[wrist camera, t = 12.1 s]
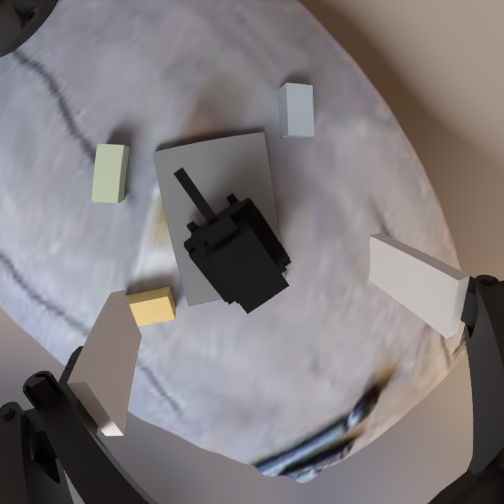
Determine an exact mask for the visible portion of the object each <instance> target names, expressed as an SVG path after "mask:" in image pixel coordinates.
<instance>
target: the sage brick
mask: <svg viewBox="0 0 504 504" xmlns="http://www.w3.org/2000/svg"><path fill="white" fill-rule="evenodd" d="M129 150H130V147H129V146H126V145H112V144H97V151H96V159H95V168H94V178H93V190H92V202H107V203H119V202H121V201H123V200H124V193H125V183H126V173H127V165H128V157H129Z"/></svg>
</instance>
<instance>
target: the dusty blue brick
mask: <svg viewBox="0 0 504 504" xmlns="http://www.w3.org/2000/svg"><path fill="white" fill-rule="evenodd" d="M279 106H280V138H304V139H305V138H310V137H314V108H313V88H312V85H305V84H295V83H285V84H284V85H283V86H282V87H281V88H279Z"/></svg>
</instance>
